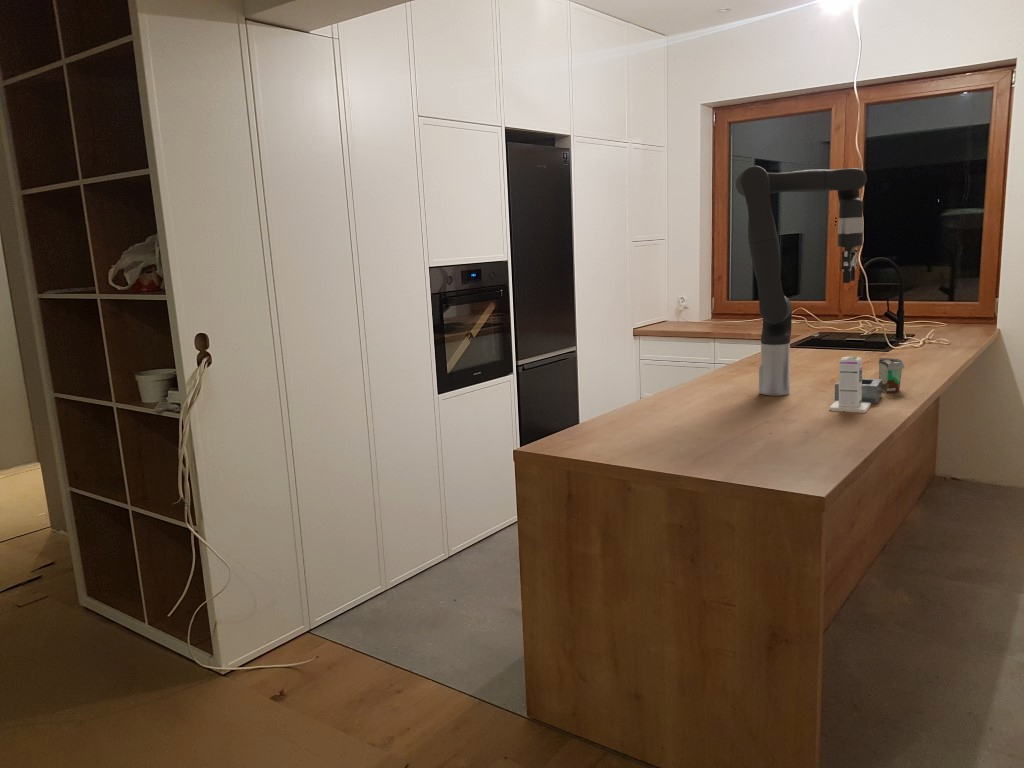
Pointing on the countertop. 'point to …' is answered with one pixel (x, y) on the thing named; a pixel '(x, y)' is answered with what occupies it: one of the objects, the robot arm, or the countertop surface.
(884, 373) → the food container
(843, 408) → the pad
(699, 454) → the countertop surface
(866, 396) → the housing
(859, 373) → the syrup box
